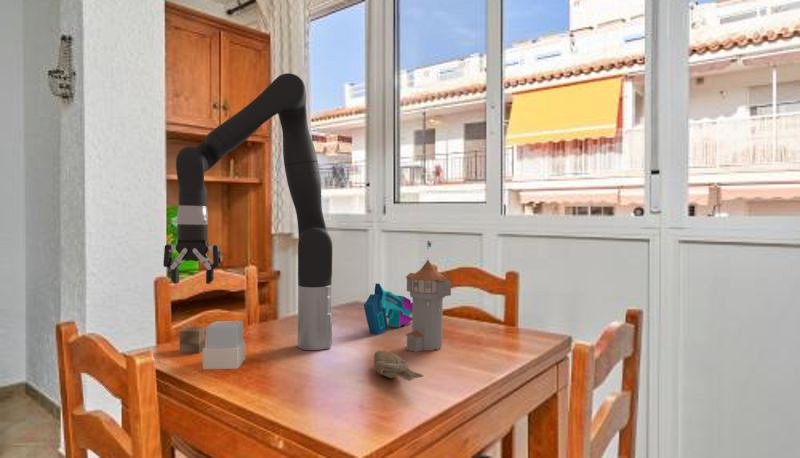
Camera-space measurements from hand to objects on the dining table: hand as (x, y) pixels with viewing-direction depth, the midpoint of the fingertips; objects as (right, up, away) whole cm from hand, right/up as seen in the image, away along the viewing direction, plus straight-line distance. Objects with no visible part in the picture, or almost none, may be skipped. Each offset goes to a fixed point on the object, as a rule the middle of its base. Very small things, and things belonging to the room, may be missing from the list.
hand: (192, 283), depth 133 cm
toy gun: (+52, -18, +29) cm, 63 cm away
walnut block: (0, -18, 0) cm, 18 cm away
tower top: (+13, -14, -11) cm, 21 cm away
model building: (+63, -19, +7) cm, 66 cm away
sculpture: (+54, -20, -22) cm, 62 cm away
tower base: (+13, -19, -11) cm, 25 cm away
